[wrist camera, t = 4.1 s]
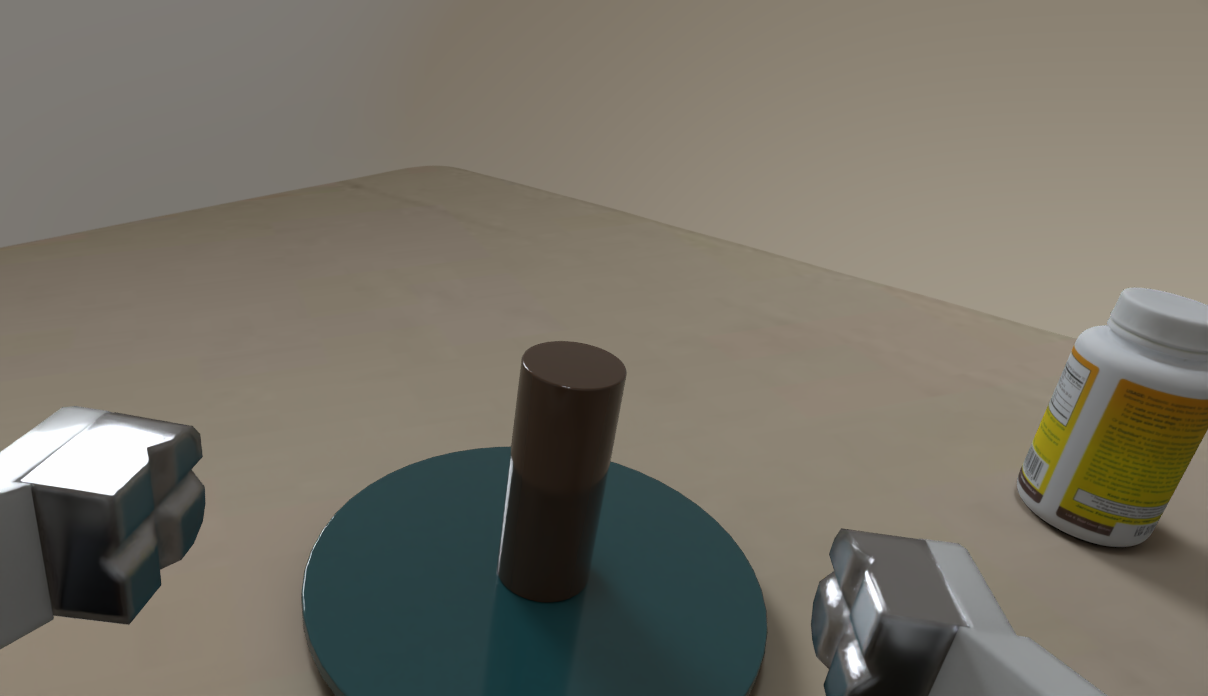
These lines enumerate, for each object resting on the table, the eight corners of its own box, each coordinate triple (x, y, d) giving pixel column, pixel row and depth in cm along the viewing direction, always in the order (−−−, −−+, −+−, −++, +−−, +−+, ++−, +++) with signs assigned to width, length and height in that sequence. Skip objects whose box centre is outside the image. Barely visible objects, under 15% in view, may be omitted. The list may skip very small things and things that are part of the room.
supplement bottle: (1174, 544, 35) (1293, 333, 31) (1088, 562, 33) (1204, 337, 29) (1066, 472, 40) (1157, 279, 35) (985, 483, 37) (1071, 278, 33)
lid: (836, 787, 22) (941, 530, 18) (254, 826, 18) (239, 523, 15) (691, 473, 34) (734, 287, 31) (333, 463, 31) (336, 254, 28)
